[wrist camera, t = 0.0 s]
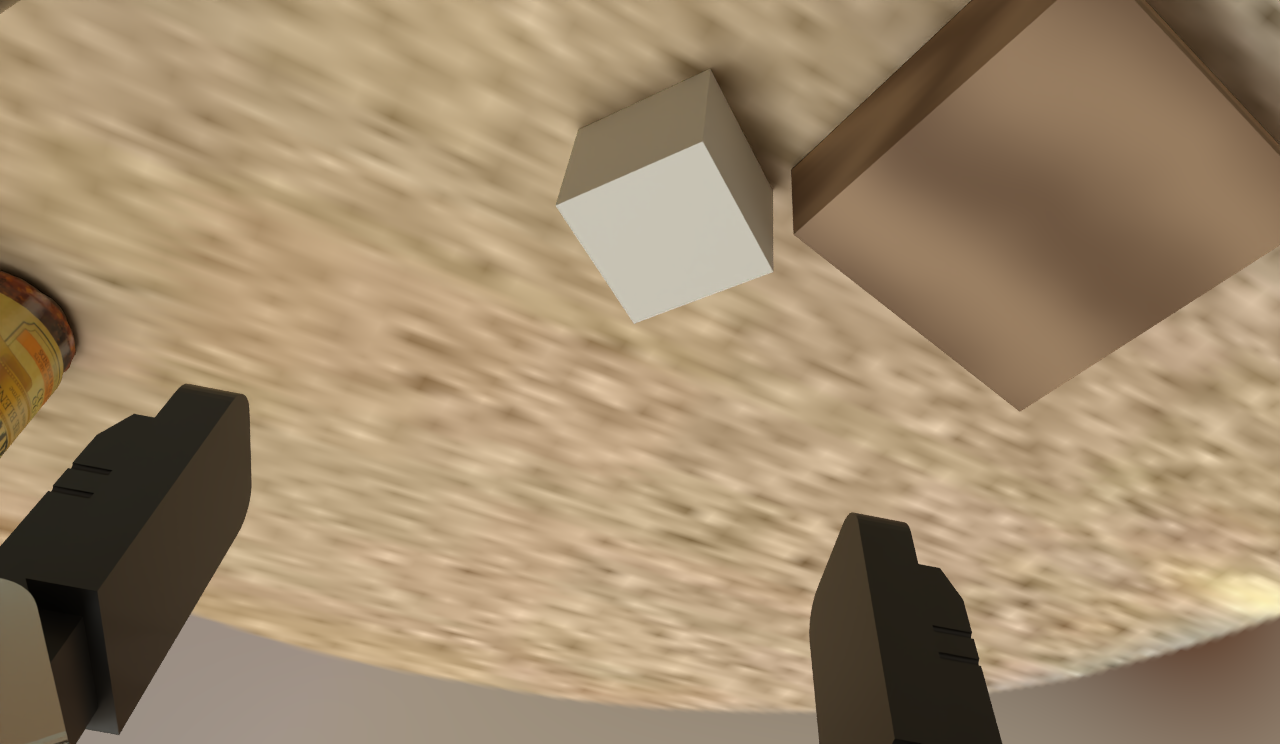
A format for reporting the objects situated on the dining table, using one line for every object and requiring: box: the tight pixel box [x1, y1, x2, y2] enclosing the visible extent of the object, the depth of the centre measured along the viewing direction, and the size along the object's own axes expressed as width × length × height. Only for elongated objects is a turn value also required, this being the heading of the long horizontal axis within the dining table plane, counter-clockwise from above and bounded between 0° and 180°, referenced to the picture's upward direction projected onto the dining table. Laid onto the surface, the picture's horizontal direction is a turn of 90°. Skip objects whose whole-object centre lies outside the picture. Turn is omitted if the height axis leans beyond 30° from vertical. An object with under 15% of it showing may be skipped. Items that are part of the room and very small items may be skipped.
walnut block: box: [791, 0, 1280, 411], centre depth 32 cm, size 11×11×4 cm
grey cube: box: [556, 69, 773, 323], centre depth 33 cm, size 5×5×5 cm
